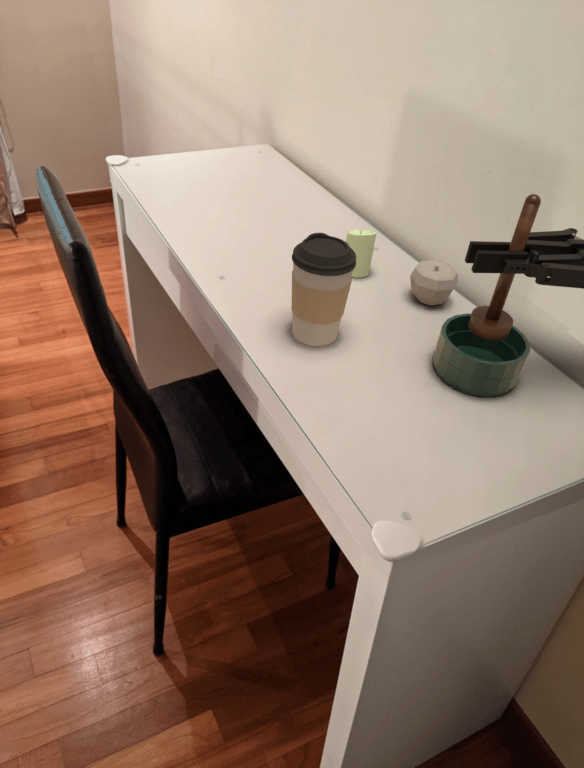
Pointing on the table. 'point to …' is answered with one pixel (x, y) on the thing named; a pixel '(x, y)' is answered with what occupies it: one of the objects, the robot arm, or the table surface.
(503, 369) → the bowl
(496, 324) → the paper towel holder
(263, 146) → the table surface
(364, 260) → the candle
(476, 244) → the robot arm
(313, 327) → the coffee cup
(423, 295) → the beige faceted lump
